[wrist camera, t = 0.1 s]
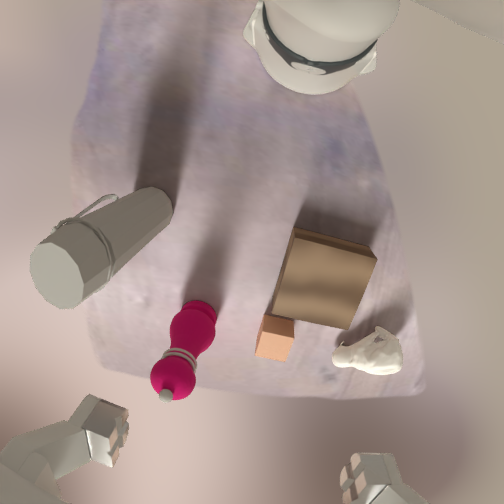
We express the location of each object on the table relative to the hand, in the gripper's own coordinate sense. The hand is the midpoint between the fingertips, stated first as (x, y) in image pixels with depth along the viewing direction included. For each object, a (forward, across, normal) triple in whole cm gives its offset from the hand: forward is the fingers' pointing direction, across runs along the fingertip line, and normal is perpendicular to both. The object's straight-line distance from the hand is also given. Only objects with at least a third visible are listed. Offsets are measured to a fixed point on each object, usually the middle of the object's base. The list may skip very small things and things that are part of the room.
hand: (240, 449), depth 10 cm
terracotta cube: (+41, -6, +17) cm, 45 cm away
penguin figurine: (+41, -22, +16) cm, 49 cm away
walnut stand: (+40, -10, +5) cm, 41 cm away
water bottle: (+39, +18, +1) cm, 43 cm away
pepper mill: (+41, +7, +18) cm, 45 cm away
